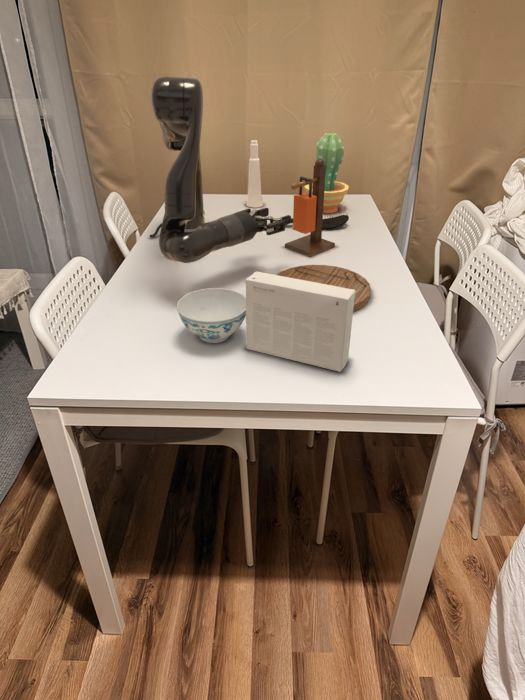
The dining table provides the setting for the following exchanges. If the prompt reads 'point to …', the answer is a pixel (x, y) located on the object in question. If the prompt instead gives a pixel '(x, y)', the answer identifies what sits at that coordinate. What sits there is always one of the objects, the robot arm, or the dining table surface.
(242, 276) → the dining table surface
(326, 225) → the hairbrush
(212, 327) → the chinaware
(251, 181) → the cosmetic bottle
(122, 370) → the dining table surface
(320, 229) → the hook stand
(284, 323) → the skincare box
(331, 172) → the potted cactus
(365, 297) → the trivet
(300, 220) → the orange handled weight
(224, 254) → the dining table surface
